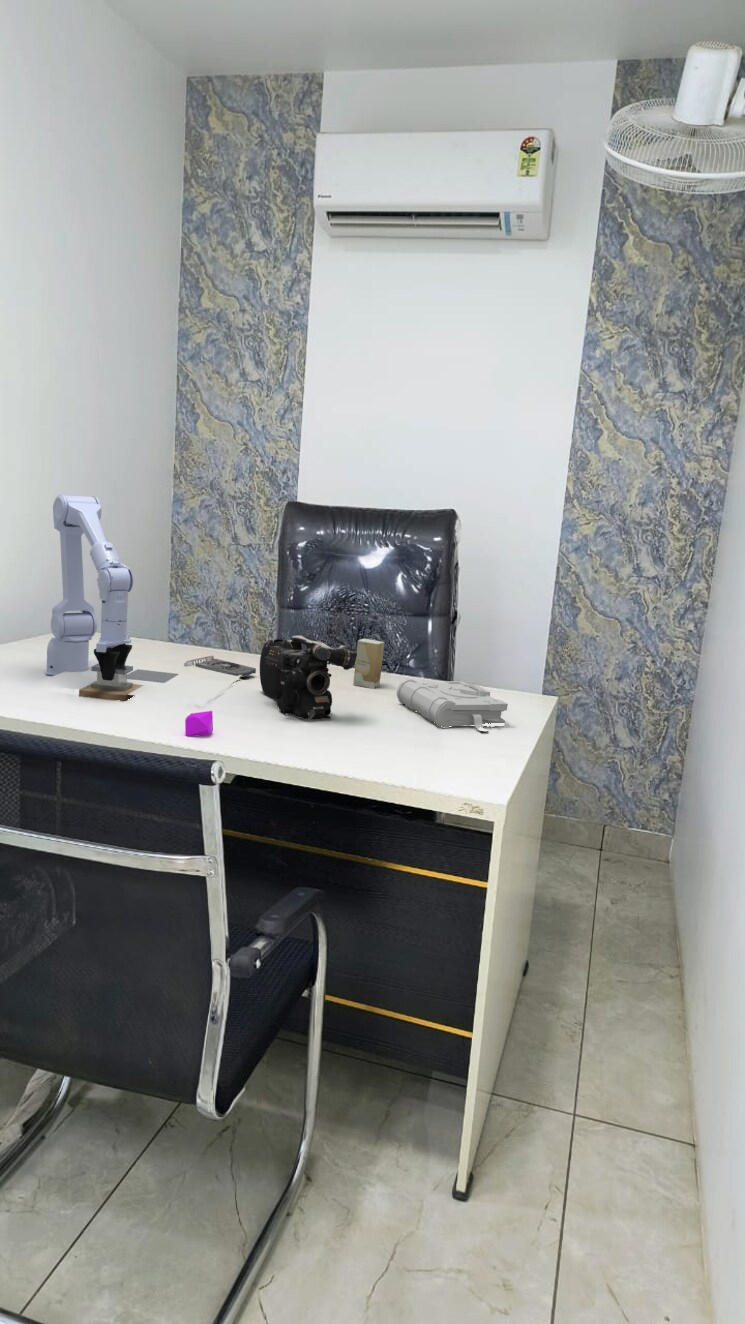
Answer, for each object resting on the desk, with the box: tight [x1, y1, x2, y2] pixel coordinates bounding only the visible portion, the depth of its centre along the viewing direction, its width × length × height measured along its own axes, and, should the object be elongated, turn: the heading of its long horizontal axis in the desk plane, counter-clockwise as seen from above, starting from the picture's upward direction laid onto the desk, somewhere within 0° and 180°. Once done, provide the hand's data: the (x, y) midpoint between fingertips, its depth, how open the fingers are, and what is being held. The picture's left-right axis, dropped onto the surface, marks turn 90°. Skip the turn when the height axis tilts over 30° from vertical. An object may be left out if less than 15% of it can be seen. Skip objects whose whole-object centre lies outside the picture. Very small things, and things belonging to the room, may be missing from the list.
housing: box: [90, 663, 134, 692], centre depth 214 cm, size 8×5×5 cm, turn 83°
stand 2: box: [127, 668, 179, 684], centre depth 230 cm, size 11×11×2 cm
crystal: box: [184, 710, 214, 737], centre depth 189 cm, size 5×5×5 cm
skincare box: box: [352, 638, 385, 689], centre depth 245 cm, size 6×4×12 cm
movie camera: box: [259, 635, 357, 721], centre depth 217 cm, size 31×18×18 cm, turn 30°
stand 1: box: [78, 683, 144, 702], centre depth 215 cm, size 11×11×2 cm
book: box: [396, 678, 509, 730], centre depth 221 cm, size 19×28×8 cm
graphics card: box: [183, 655, 257, 678], centre depth 245 cm, size 17×4×12 cm
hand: (112, 677), depth 214 cm, fingers open, 5 cm apart
